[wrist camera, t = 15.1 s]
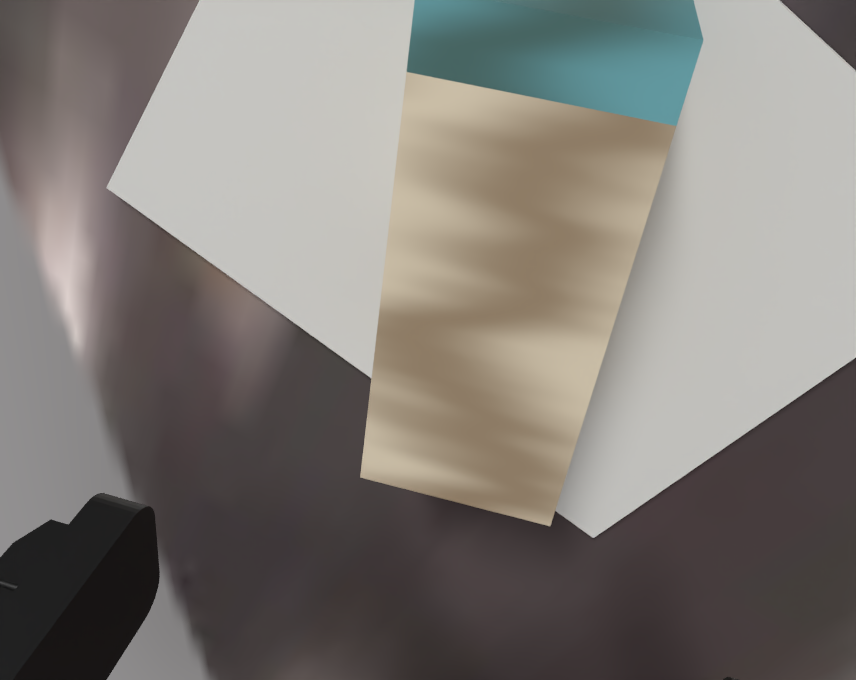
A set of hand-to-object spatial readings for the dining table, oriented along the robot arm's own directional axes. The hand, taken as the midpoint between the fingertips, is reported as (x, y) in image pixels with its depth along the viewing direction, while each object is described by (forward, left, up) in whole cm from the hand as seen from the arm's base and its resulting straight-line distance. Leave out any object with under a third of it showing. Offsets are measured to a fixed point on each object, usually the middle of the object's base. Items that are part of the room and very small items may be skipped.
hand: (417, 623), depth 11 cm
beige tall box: (-2, +5, -10) cm, 12 cm away
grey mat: (+1, 0, -13) cm, 13 cm away
